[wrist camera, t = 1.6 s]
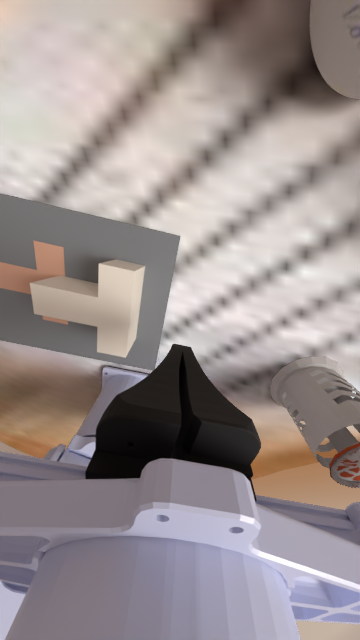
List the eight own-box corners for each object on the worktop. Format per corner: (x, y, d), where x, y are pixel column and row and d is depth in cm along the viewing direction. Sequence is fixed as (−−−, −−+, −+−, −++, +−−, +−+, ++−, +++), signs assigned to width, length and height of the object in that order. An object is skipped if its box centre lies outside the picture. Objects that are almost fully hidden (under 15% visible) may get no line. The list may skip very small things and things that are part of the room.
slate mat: (154, 368, 24) (154, 371, 24) (-8, 336, 23) (-12, 338, 23) (180, 236, 17) (180, 236, 17) (-50, 181, 16) (-56, 180, 16)
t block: (135, 338, 22) (125, 357, 18) (63, 323, 21) (37, 340, 18) (145, 265, 18) (134, 271, 14) (58, 246, 18) (24, 246, 14)
